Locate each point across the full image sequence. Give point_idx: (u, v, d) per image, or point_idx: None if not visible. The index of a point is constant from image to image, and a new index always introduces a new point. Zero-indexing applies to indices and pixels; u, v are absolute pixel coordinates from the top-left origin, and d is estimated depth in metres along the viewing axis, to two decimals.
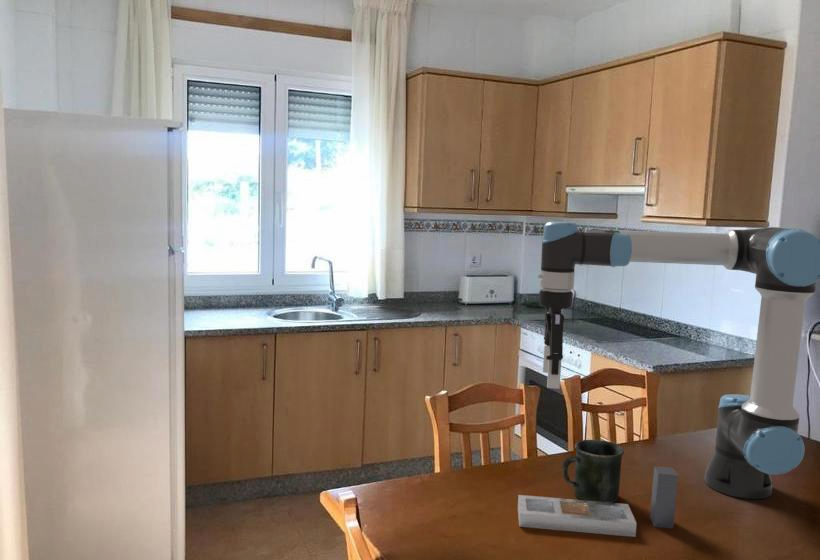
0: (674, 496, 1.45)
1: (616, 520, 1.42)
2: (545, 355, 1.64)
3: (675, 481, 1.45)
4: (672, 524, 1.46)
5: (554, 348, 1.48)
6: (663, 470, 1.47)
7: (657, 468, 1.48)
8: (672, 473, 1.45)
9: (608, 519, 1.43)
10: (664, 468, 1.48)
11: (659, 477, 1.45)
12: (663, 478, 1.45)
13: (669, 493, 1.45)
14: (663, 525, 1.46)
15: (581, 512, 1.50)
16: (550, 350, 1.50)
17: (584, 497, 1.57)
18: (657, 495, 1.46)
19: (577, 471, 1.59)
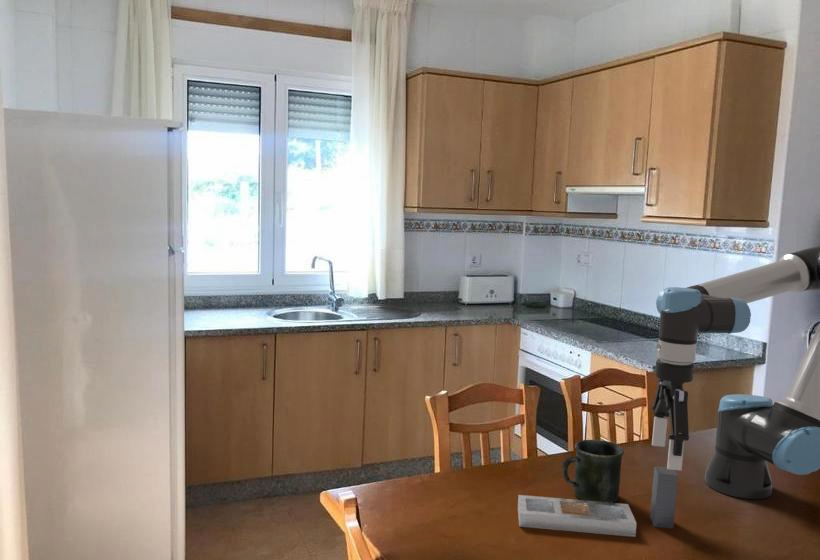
0: (674, 496, 1.45)
1: (616, 520, 1.42)
2: (655, 427, 1.52)
3: (675, 481, 1.45)
4: (672, 524, 1.46)
5: (679, 428, 1.36)
6: (663, 470, 1.47)
7: (657, 468, 1.48)
8: (672, 473, 1.45)
9: (608, 519, 1.43)
10: (664, 468, 1.48)
11: (659, 477, 1.45)
12: (663, 478, 1.45)
13: (669, 493, 1.45)
14: (663, 525, 1.46)
15: (581, 512, 1.50)
16: (673, 429, 1.38)
17: (584, 497, 1.57)
18: (657, 495, 1.46)
19: (577, 471, 1.59)
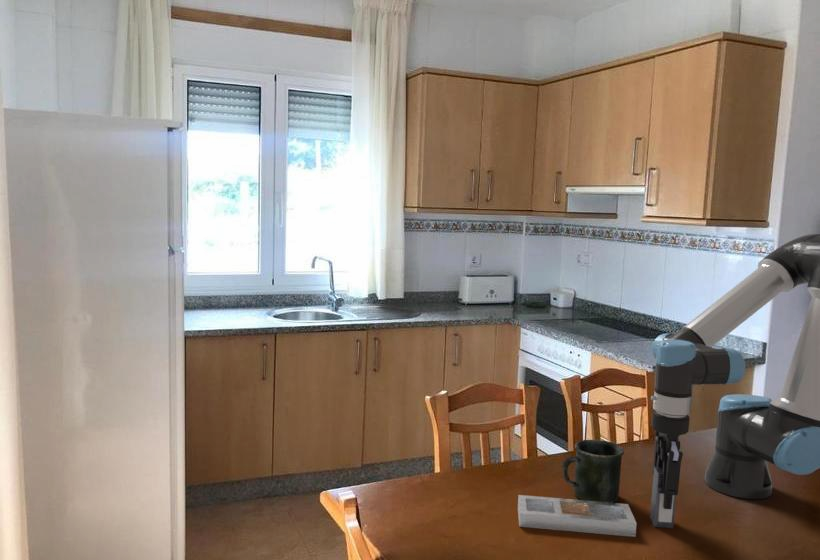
0: (674, 496, 1.45)
1: (616, 520, 1.42)
2: None
3: None
4: (672, 524, 1.46)
5: (669, 485, 1.41)
6: None
7: (657, 468, 1.48)
8: None
9: (608, 519, 1.43)
10: None
11: (659, 477, 1.45)
12: None
13: None
14: (663, 525, 1.46)
15: (581, 512, 1.50)
16: (663, 485, 1.44)
17: (584, 497, 1.57)
18: (657, 495, 1.46)
19: (577, 471, 1.59)
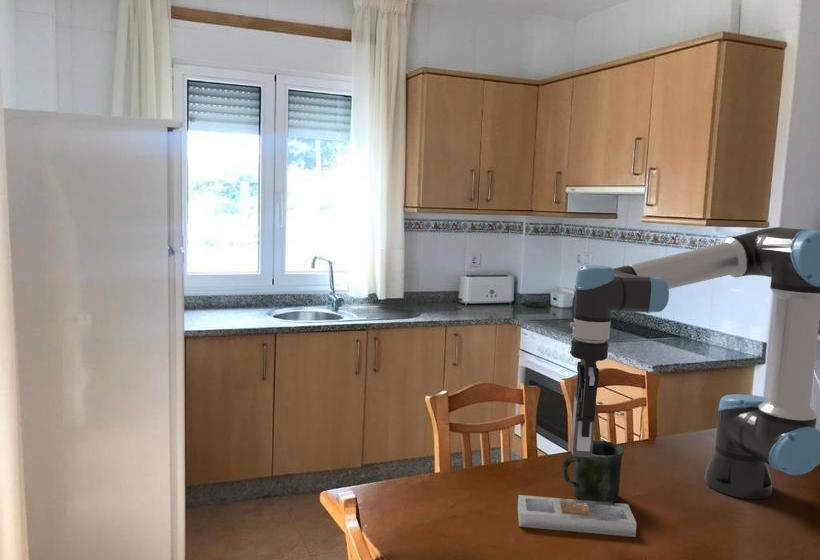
0: (593, 424, 1.43)
1: (616, 520, 1.42)
2: None
3: None
4: (591, 453, 1.43)
5: (586, 411, 1.39)
6: None
7: (577, 397, 1.45)
8: None
9: (608, 519, 1.43)
10: None
11: (577, 405, 1.43)
12: None
13: None
14: (582, 454, 1.44)
15: (581, 512, 1.50)
16: (581, 412, 1.41)
17: (584, 497, 1.57)
18: (575, 423, 1.43)
19: (577, 471, 1.59)
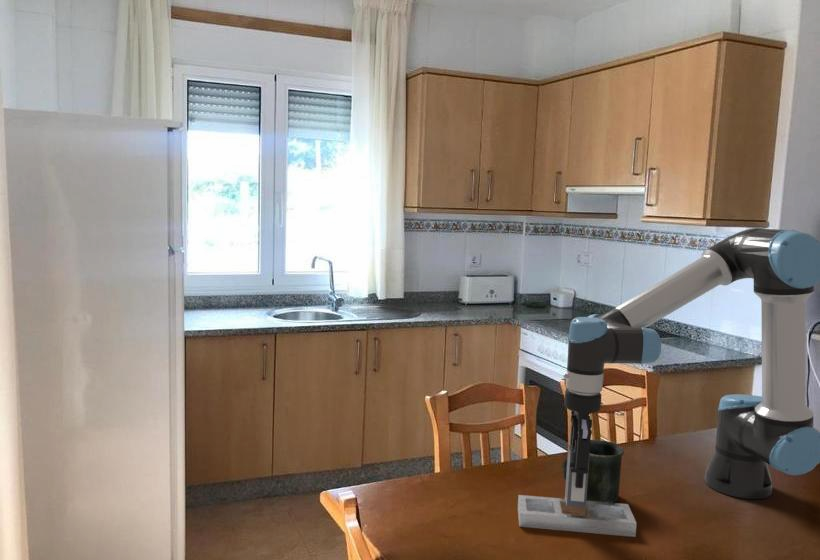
0: (586, 475, 1.44)
1: (616, 520, 1.42)
2: None
3: None
4: (585, 503, 1.45)
5: (579, 464, 1.40)
6: None
7: (571, 447, 1.47)
8: None
9: (608, 519, 1.43)
10: None
11: (571, 455, 1.44)
12: None
13: None
14: (576, 504, 1.45)
15: (581, 512, 1.50)
16: (575, 463, 1.42)
17: None
18: (569, 474, 1.45)
19: None
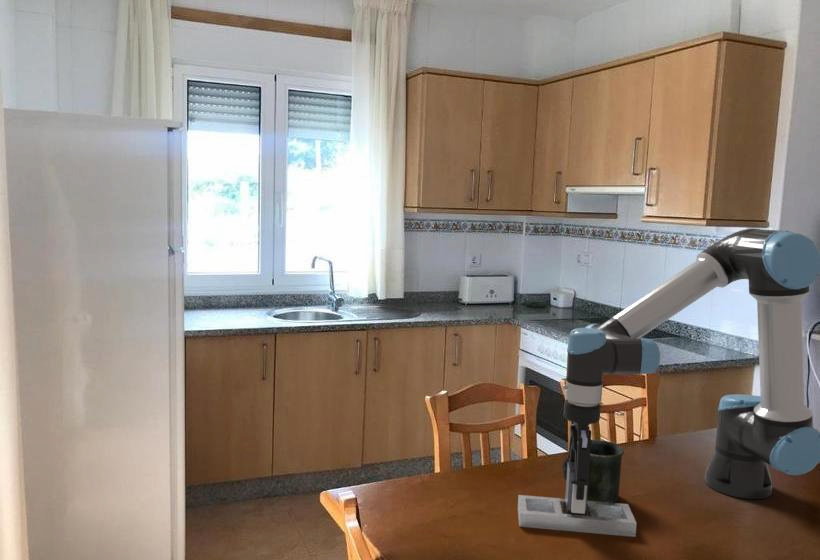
0: None
1: (616, 520, 1.42)
2: None
3: None
4: None
5: (580, 474, 1.39)
6: None
7: (570, 463, 1.47)
8: None
9: (608, 519, 1.43)
10: None
11: (570, 472, 1.44)
12: (574, 473, 1.44)
13: None
14: None
15: None
16: (575, 474, 1.41)
17: None
18: (569, 491, 1.45)
19: None
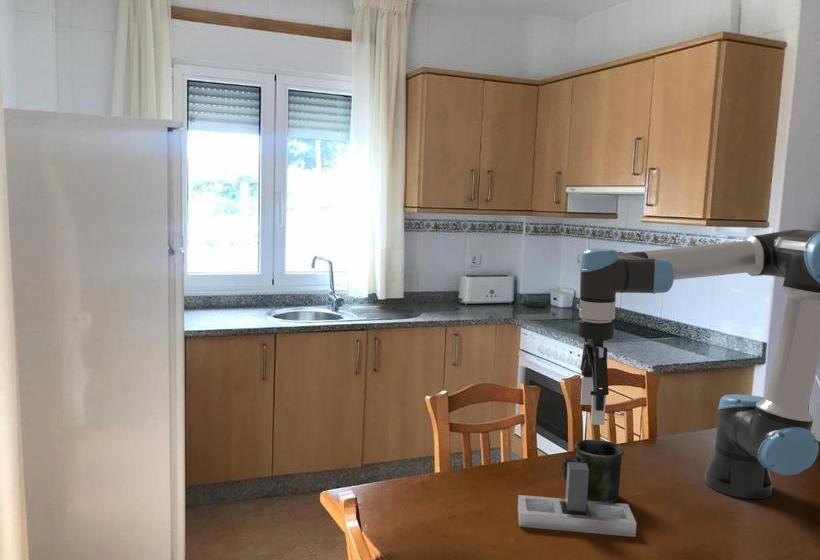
0: (585, 492, 1.45)
1: (616, 520, 1.42)
2: (583, 387, 1.57)
3: (586, 476, 1.44)
4: None
5: (599, 383, 1.40)
6: (576, 466, 1.46)
7: (570, 463, 1.47)
8: (583, 469, 1.45)
9: (608, 519, 1.43)
10: (577, 464, 1.47)
11: (570, 472, 1.44)
12: (574, 473, 1.44)
13: (580, 489, 1.45)
14: None
15: None
16: (594, 385, 1.43)
17: None
18: (569, 491, 1.45)
19: None
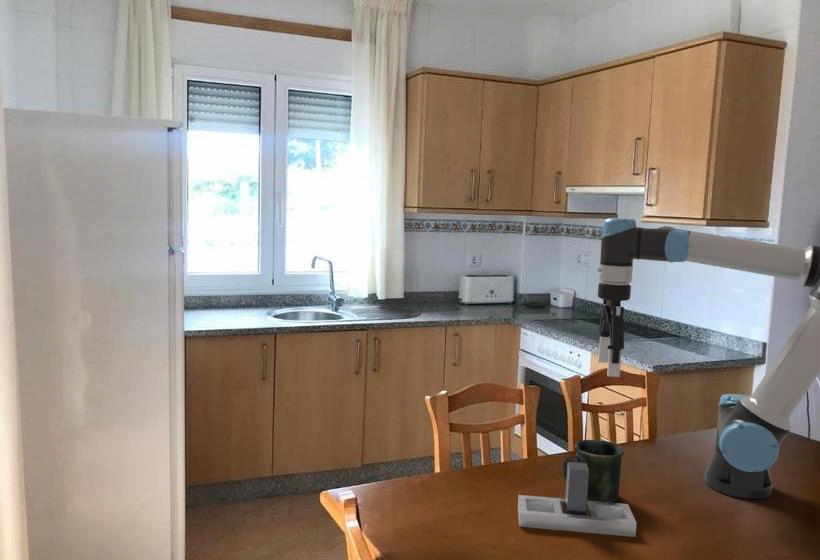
0: (585, 492, 1.45)
1: (616, 520, 1.42)
2: (601, 346, 1.72)
3: (586, 476, 1.44)
4: None
5: (616, 338, 1.55)
6: (576, 466, 1.46)
7: (570, 463, 1.47)
8: (583, 469, 1.45)
9: (608, 519, 1.43)
10: (577, 464, 1.47)
11: (570, 472, 1.44)
12: (574, 473, 1.44)
13: (580, 489, 1.45)
14: None
15: None
16: (611, 340, 1.58)
17: None
18: (569, 491, 1.45)
19: None
